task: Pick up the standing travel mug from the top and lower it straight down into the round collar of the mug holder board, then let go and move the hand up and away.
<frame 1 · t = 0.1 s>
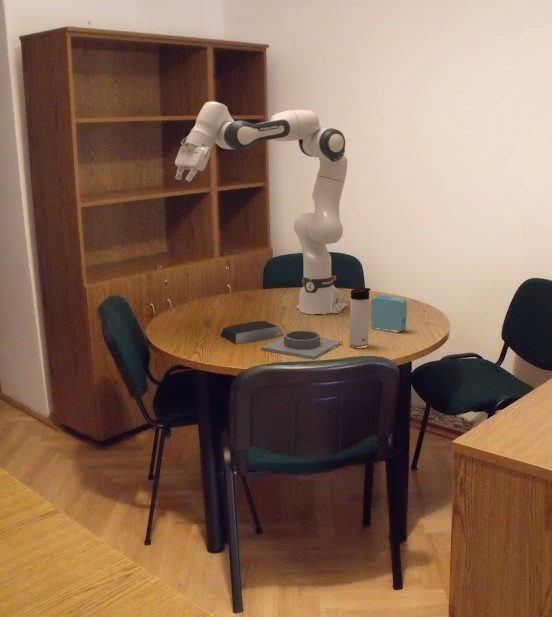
hand: (182, 180, 252), 54 cm above the table, tool tilted 30°, fingers open, 8 cm apart
mug holder: (302, 346, 243), on the table
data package: (388, 330, 263), on the table
travel mug: (359, 346, 244), on the table
external hard drive: (251, 338, 256), on the table
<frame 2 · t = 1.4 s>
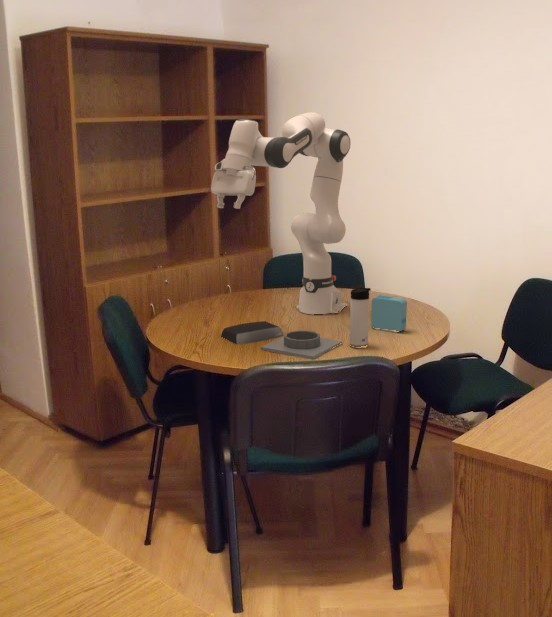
hand: (228, 208, 236), 46 cm above the table, tool tilted 20°, fingers open, 8 cm apart
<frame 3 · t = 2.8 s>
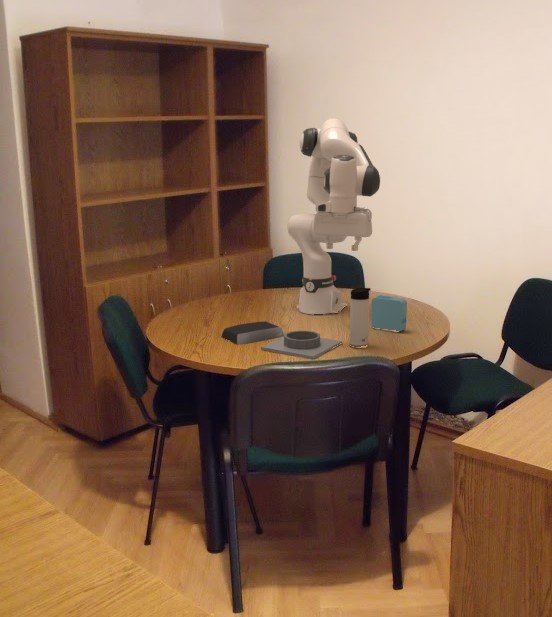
hand: (342, 249, 233), 33 cm above the table, tool pointing down, fingers open, 8 cm apart
nothing on the table moved.
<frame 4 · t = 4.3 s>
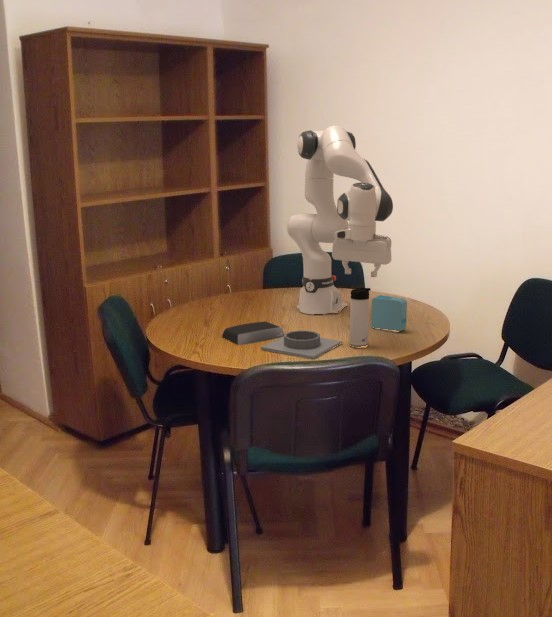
hand: (360, 275, 238), 24 cm above the table, tool pointing down, fingers open, 8 cm apart
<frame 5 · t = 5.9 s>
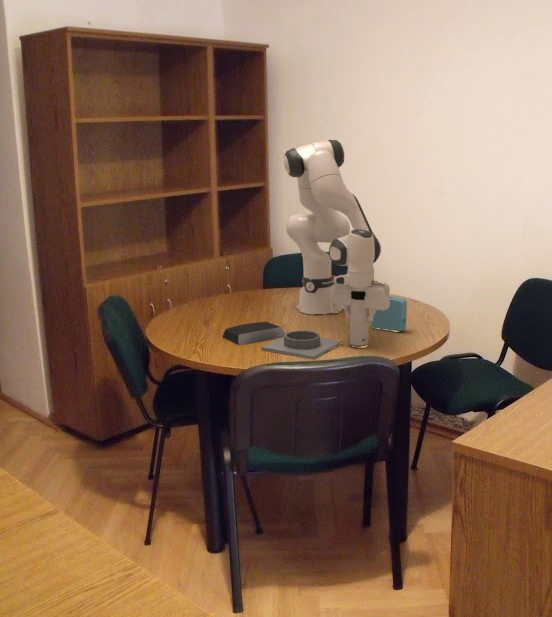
hand: (359, 319, 241), 9 cm above the table, tool pointing down, fingers closed on travel mug, 6 cm apart
travel mug: (359, 346, 244), on the table, touching gripper
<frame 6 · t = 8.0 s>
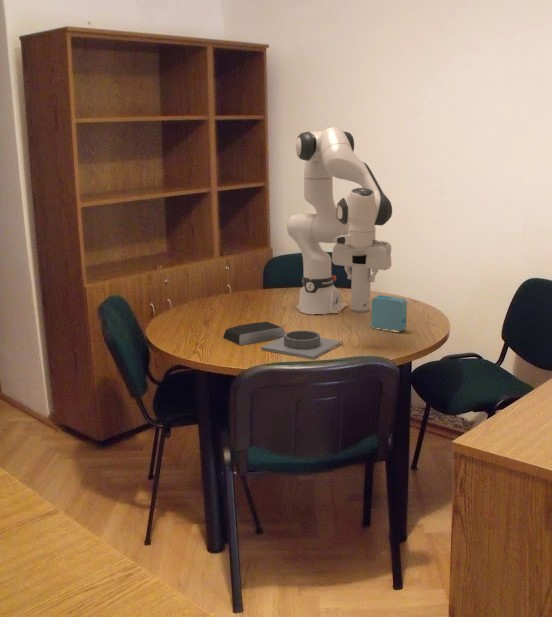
hand: (361, 280, 238), 23 cm above the table, tool pointing down, fingers closed on travel mug, 6 cm apart
travel mug: (360, 311, 241), point 12 cm above the table, touching gripper
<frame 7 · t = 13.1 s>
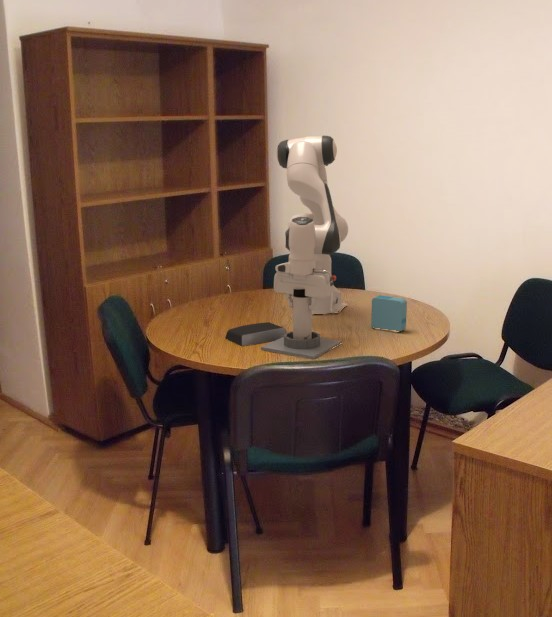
hand: (301, 308, 239), 13 cm above the table, tool pointing down, fingers closed on travel mug, 6 cm apart
travel mug: (302, 344, 243), point 1 cm above the table, touching gripper, mug holder
external hard drive: (256, 339, 254), on the table
everything else where it was.
when the fingers open (12 cm above the table, at t = 14.0 s): travel mug stays where it is, resting on mug holder.
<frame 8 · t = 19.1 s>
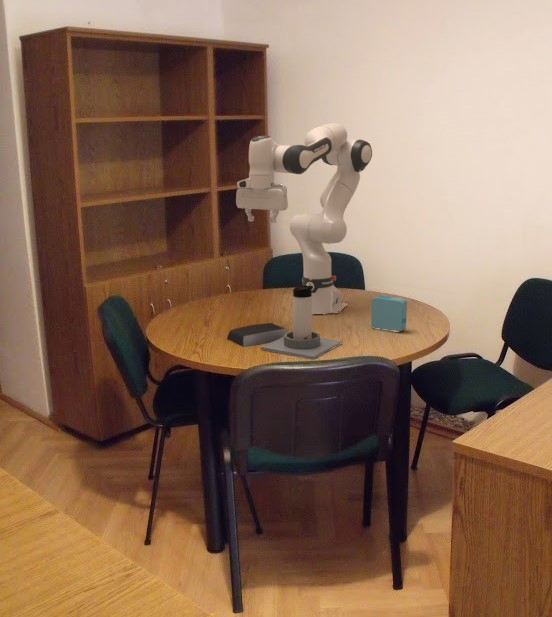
hand: (262, 222, 258), 39 cm above the table, tool pointing down, fingers open, 8 cm apart
travel mug: (302, 344, 243), point 1 cm above the table, touching mug holder
external hard drive: (258, 340, 253), on the table
everything else where it was.
at the end: travel mug 0.3 cm off-centre on the mug holder, point 0.8 cm above the mug holder's base; travel mug tilted 0°; the gripper is holding nothing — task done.
